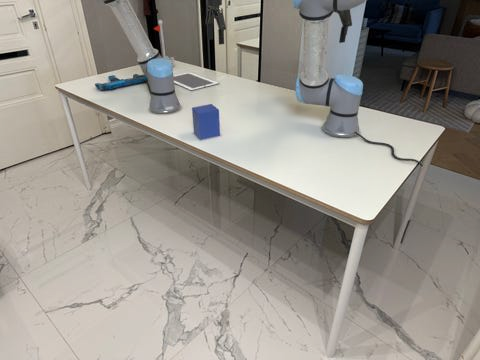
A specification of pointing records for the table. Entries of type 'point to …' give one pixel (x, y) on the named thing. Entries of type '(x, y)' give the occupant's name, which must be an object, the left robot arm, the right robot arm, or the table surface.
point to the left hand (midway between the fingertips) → (216, 41)
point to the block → (206, 121)
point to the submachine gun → (121, 82)
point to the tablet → (192, 81)
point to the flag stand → (159, 28)
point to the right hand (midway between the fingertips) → (332, 40)
